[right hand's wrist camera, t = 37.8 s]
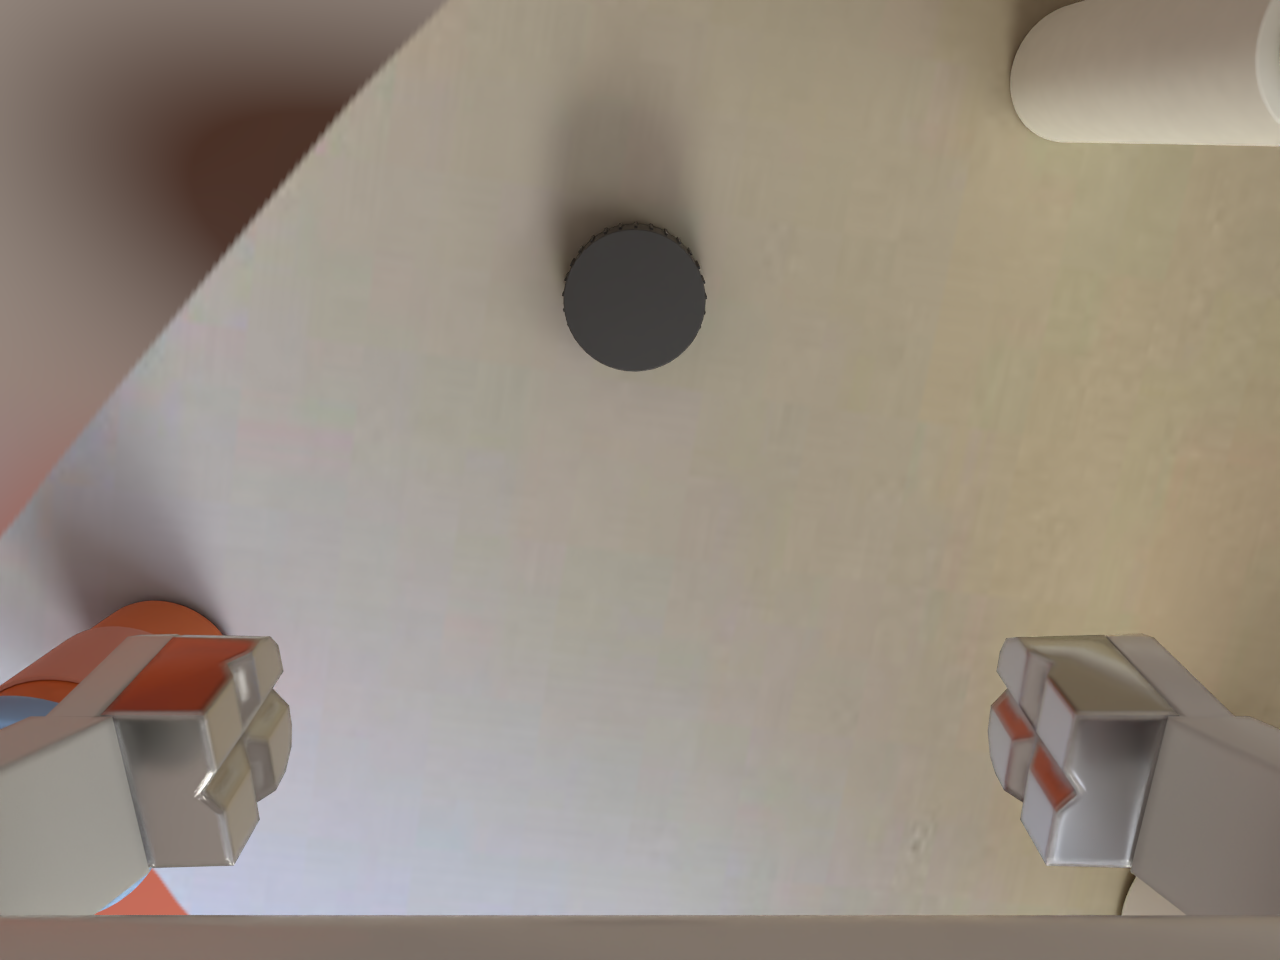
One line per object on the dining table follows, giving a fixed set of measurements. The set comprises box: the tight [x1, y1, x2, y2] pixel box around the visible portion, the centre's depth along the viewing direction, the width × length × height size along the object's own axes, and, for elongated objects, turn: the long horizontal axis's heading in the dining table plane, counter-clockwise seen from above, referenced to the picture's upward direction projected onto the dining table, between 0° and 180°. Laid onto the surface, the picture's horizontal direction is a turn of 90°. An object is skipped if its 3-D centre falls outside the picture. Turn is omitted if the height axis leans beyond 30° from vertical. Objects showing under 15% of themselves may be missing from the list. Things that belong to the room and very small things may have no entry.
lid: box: [562, 222, 707, 371], centre depth 35 cm, size 5×5×2 cm
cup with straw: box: [0, 601, 223, 912], centre depth 33 cm, size 9×9×18 cm
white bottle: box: [1010, 0, 1280, 146], centre depth 25 cm, size 5×5×16 cm
